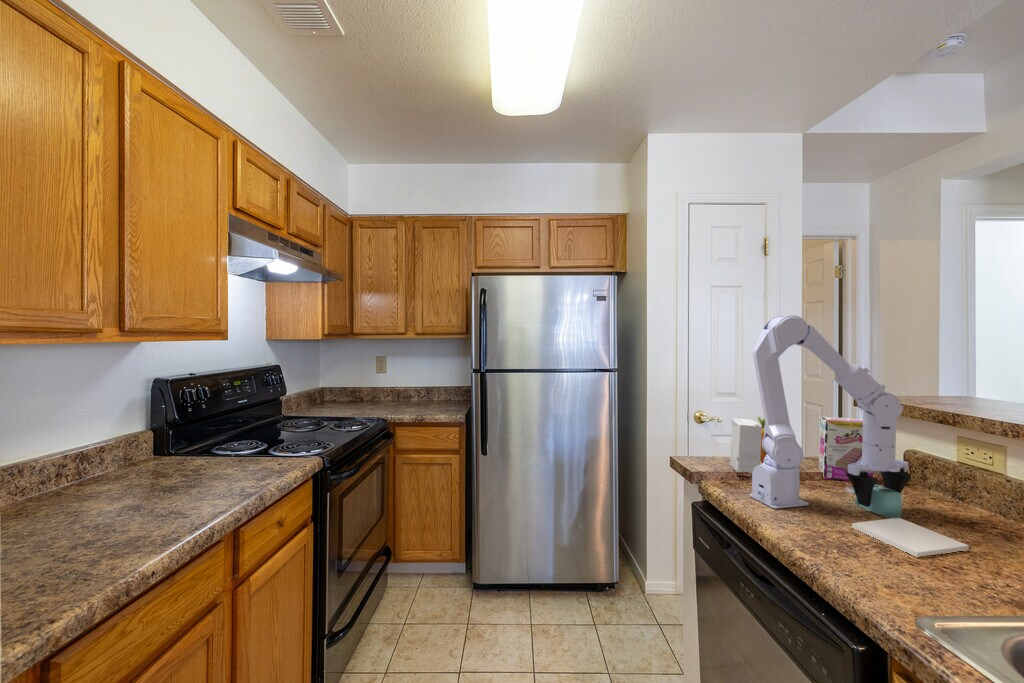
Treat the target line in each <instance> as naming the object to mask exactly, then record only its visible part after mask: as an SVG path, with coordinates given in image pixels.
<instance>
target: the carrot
mask: <svg viewBox="0 0 1024 683" xmlns="http://www.w3.org/2000/svg"><path fill="white" fill-rule="evenodd" d="M756 418H757V420H758V422H759V423H760V424H759V425H760V426H761V427H762V436H761V457H760V463H761V464H762V463H763V462H764V458H765V456H766V455H767V453H766V452H765V451H764V449H763V447H762V440H763V438H764V426H765V419H764V418H761V417H760V416H757V417H756Z"/></svg>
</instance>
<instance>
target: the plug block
mask: <svg viewBox="0 0 1024 683" xmlns="http://www.w3.org/2000/svg"><path fill="white" fill-rule="evenodd" d="M845 492H847V493H849V494H853V495H856V493H855V490H854V488H853V485H852V486H846V487H845ZM902 497H903V496H902V492H901V493H899V492H897V491H894V490H891V489H888V488H885V487H884V486H882V485H879V484H876V483H875V485H874V487H873V490H872V496H871V504H870V507H866V506H863V505H861V504H858V500H857V497H856V496H855V505H856V506H858V507H860V508H861V509H862V508H863V509H864V510H867V511H870V512H872V513H875V514H878V515H880V516H882V517H884V518H887V519H892V518H901V519H902V505H903V504H902V501H903V500H902V499H903V498H902Z"/></svg>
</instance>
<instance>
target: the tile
mask: <svg viewBox="0 0 1024 683" xmlns="http://www.w3.org/2000/svg"><path fill="white" fill-rule="evenodd" d="M851 527H852V529H853V528H854V530H855V531H858V530H859V531H858V532H860V531H861V532H860V533H862V532H863V533H862V534H864V533H865V534H864V535H866V534H867V535H866V536H868V535H869V536H868V537H871V538H873V537H874V538H873V539H875V538H876V539H875V540H877V539H878V541H879V540H880V542H881V541H882V543H883V542H884V543H883V544H886V545H888V544H889V545H888V546H890V545H891V546H890V547H892V546H894V547H896V548H898V549H900V550H899V551H901V550H902V551H901V552H903V551H904V552H903V553H905V552H907V553H909V554H911V555H913V556H916V557H919V556H925V555H932V554H941V553H947V552H954V551H962V550H970V549H969V548H970V546H969V545H968V544H967V543H963V542H961V541H958V540H956V539H953V538H951V537H949V536H946V535H943V534H940V533H938V532H936V531H933V530H930V529H929V528H926V527H923V526H921V525H918V524H916V523H913V522H911V521H908V520H905V519H904V518H903V519H902V517H901V518H885V519H884V518H883V519H877V520H876V519H874V520H868V521H859V522H851ZM894 547H893V548H894ZM896 548H895V549H896ZM898 549H897V550H898ZM907 553H906V554H907ZM909 554H908V555H909ZM911 555H910V556H911ZM913 556H912V557H913ZM916 557H915V558H916Z"/></svg>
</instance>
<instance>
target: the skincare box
mask: <svg viewBox="0 0 1024 683" xmlns="http://www.w3.org/2000/svg"><path fill="white" fill-rule="evenodd" d="M761 436H762V426H761V424H759V422H756V421H755V420H753V419H749V418H736V417H735V418H731V440H730V456H729V457H730V460H729V466H730V465H731V466H733V467H734V468H735V469H736V470H737V471H745V472H750V473H752V472H753V469H754V468H755V467H756V466H758V465H761V461H760V457H761Z"/></svg>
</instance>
